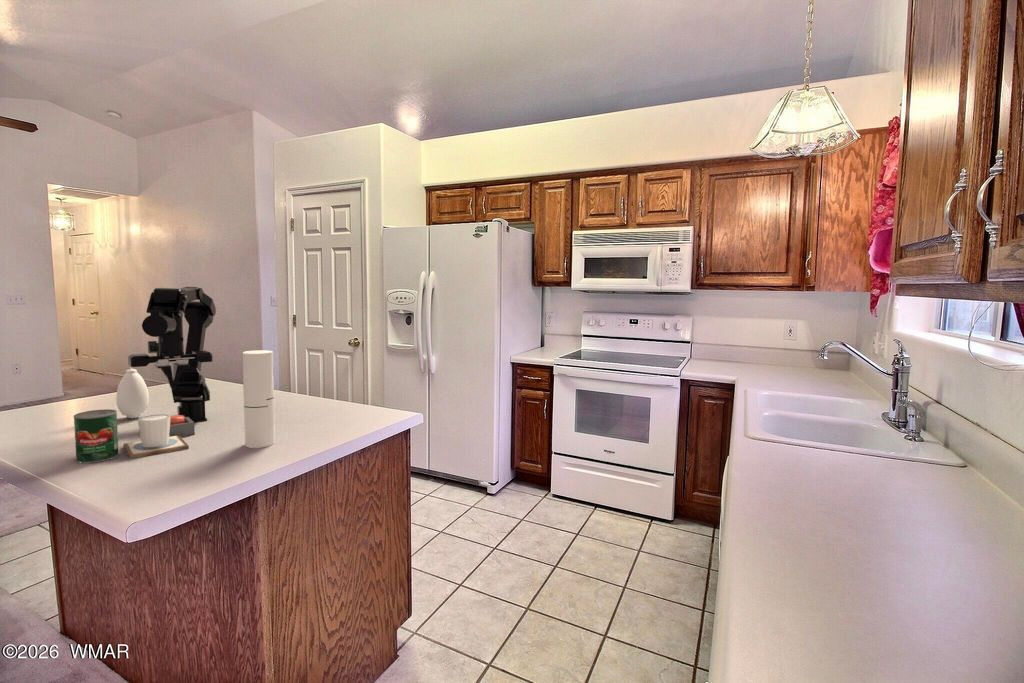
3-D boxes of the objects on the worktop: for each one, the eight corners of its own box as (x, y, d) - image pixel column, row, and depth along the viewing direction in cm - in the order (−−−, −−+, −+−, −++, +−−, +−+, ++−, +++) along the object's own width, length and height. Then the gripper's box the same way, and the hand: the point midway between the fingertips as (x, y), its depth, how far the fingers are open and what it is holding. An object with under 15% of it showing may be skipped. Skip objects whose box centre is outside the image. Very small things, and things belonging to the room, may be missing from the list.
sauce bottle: (136, 421, 149) (133, 363, 147) (111, 420, 149) (107, 362, 147) (155, 415, 157) (152, 359, 155) (131, 414, 157) (128, 359, 155)
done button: (182, 421, 141) (182, 414, 141) (186, 424, 138) (186, 417, 137) (162, 423, 138) (162, 416, 137) (165, 427, 134) (165, 420, 134)
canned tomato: (83, 466, 112) (80, 419, 111) (70, 459, 116) (67, 413, 115) (124, 456, 119) (122, 412, 118) (111, 450, 123) (109, 407, 122)
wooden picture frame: (178, 437, 134) (178, 434, 134) (188, 448, 126) (188, 444, 126) (123, 446, 126) (123, 442, 126) (130, 458, 117) (130, 454, 117)
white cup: (158, 448, 122) (157, 421, 122) (132, 447, 122) (130, 420, 122) (178, 440, 129) (177, 414, 128) (152, 439, 129) (151, 413, 129)
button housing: (188, 428, 144) (187, 416, 143) (194, 434, 138) (194, 422, 138) (154, 433, 138) (154, 421, 138) (160, 439, 132) (159, 427, 132)
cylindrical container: (280, 441, 134) (279, 351, 131) (259, 449, 127) (257, 354, 124) (260, 438, 136) (258, 349, 133) (238, 445, 129) (236, 352, 127)
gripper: (202, 330, 147) (204, 381, 149) (123, 332, 134) (126, 388, 136) (212, 333, 139) (213, 386, 141) (129, 335, 126) (132, 394, 128)
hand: (172, 388), depth 137 cm, fingers closed
